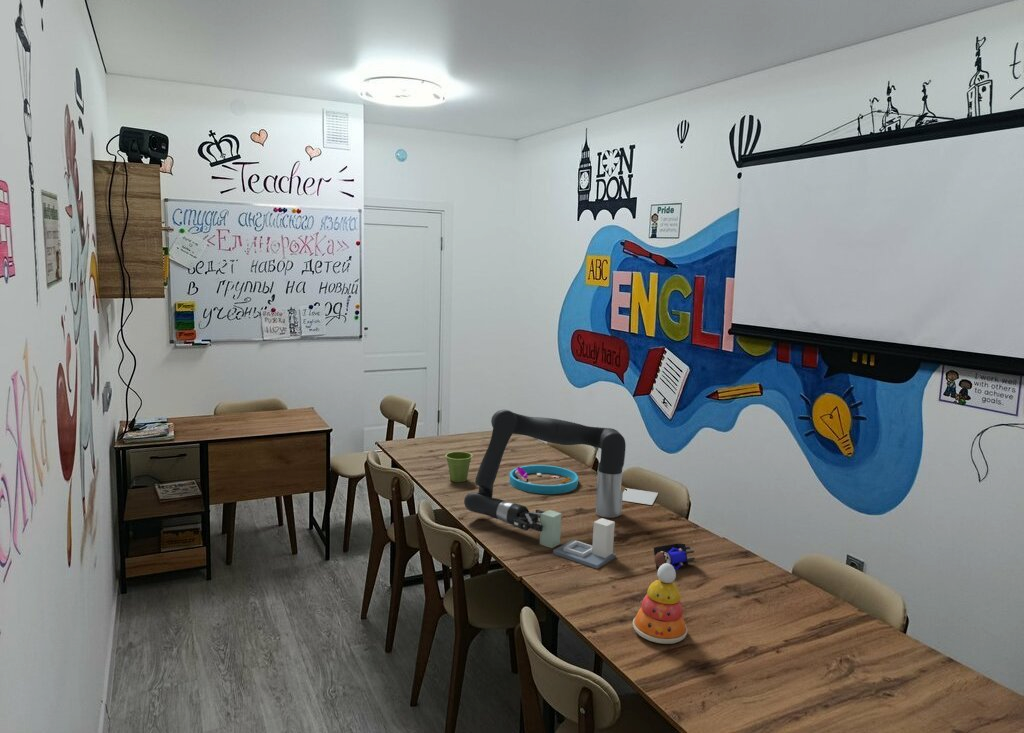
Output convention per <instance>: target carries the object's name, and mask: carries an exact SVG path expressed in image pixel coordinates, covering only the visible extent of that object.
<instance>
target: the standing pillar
mask: <svg viewBox="0 0 1024 733" xmlns="http://www.w3.org/2000/svg"><path fill="white" fill-rule="evenodd" d="M615 523H616V522H615V521H613V520H609V519H608V518H604V517H601V518H599V519H596V520H595V521H593V528H592V529H593V530H592V554H594V555H597V556H600V557H603V558H606V557H608V556H610V555H611V554H613V553H614V542H615V541H614V540H615V526H616V525H615Z"/></svg>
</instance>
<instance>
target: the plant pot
mask: <svg viewBox="0 0 1024 733" xmlns="http://www.w3.org/2000/svg"><path fill="white" fill-rule="evenodd" d="M445 458H446V462H447V466H448V473H449V478H450V479H449V480H450V481H451V482H454V483H461V482H467V481H468V477H469V476H468V474H469V470H470V464H471V461H472V458H473V454H472V453H470V452H468V451H467V452H466V451H451V452H447V453H446V454H445Z"/></svg>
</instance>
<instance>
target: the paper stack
mask: <svg viewBox="0 0 1024 733" xmlns="http://www.w3.org/2000/svg"><path fill="white" fill-rule="evenodd" d="M625 489H627V491H626V490H625ZM625 489H624V490H623V499H622V502H630V503H636V504H643V505H650V506H652V505H653V504H654V502H655V500H656V499H657V496H658V495H659V492H655V491H649V490H643V489H642V490H641V489H635V488H628V487H626V488H625Z"/></svg>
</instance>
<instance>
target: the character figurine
mask: <svg viewBox="0 0 1024 733" xmlns="http://www.w3.org/2000/svg"><path fill="white" fill-rule="evenodd" d="M690 549H691V546H690V545H686V543H679V542H678V543H671V544H665V545H660V546H654V547H653V553H654V554H653V555H654V564H655V568H656V569H657V570H658V569H659V567H660V566H661V565H663V564H665V563H668V564H670V565H672V566H673V567H674V569H675V571H678V570H679V568H680V567H681V566H689V563H693V562H695V559H696V557H694V556H692V557H688V555H690V554H694V553H695V551H694V550H693V549H692V550H690ZM687 550H688V551H687Z"/></svg>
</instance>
